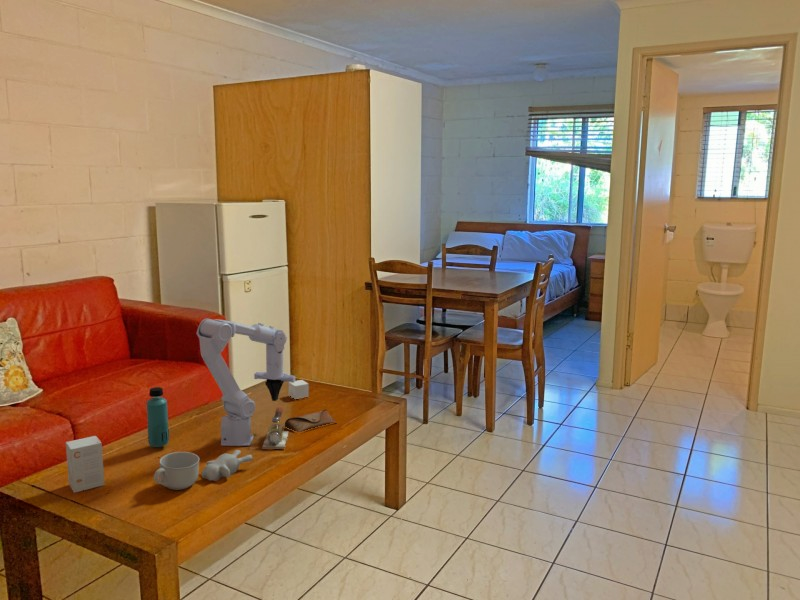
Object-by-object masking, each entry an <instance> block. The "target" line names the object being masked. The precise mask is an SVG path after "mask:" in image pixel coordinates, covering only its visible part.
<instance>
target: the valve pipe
mask: <svg viewBox="0 0 800 600" xmlns="http://www.w3.org/2000/svg"><path fill="white" fill-rule="evenodd" d="M268 426H269V427H268V429H267V431H268V432H267V433H268V441H269V443H270V444H271V445H273V446H274V445H277V444H278V443H279V442H280V441H282V439H283V431H284V423H269V425H268Z"/></svg>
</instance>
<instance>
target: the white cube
mask: <svg viewBox="0 0 800 600" xmlns="http://www.w3.org/2000/svg"><path fill="white" fill-rule="evenodd" d="M309 391H310V386H309V382H307V381H305V380H303V379H299V380H298V379H297V380H295V382H294V383H291V382H288V397H290V396H291V397H292V398H294V399H299V398H304V397H309V394H310V393H309ZM291 397H290V398H291ZM292 398H291V399H292ZM294 399H293V400H294ZM299 400H300V399H299Z"/></svg>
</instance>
